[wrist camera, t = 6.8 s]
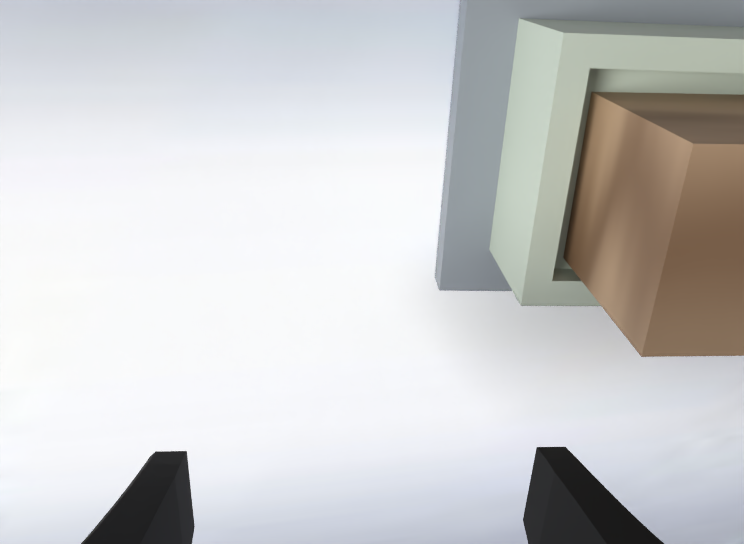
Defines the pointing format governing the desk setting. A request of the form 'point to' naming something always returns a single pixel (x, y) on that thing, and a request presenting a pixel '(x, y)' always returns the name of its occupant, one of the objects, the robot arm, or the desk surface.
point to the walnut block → (663, 219)
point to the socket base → (555, 122)
